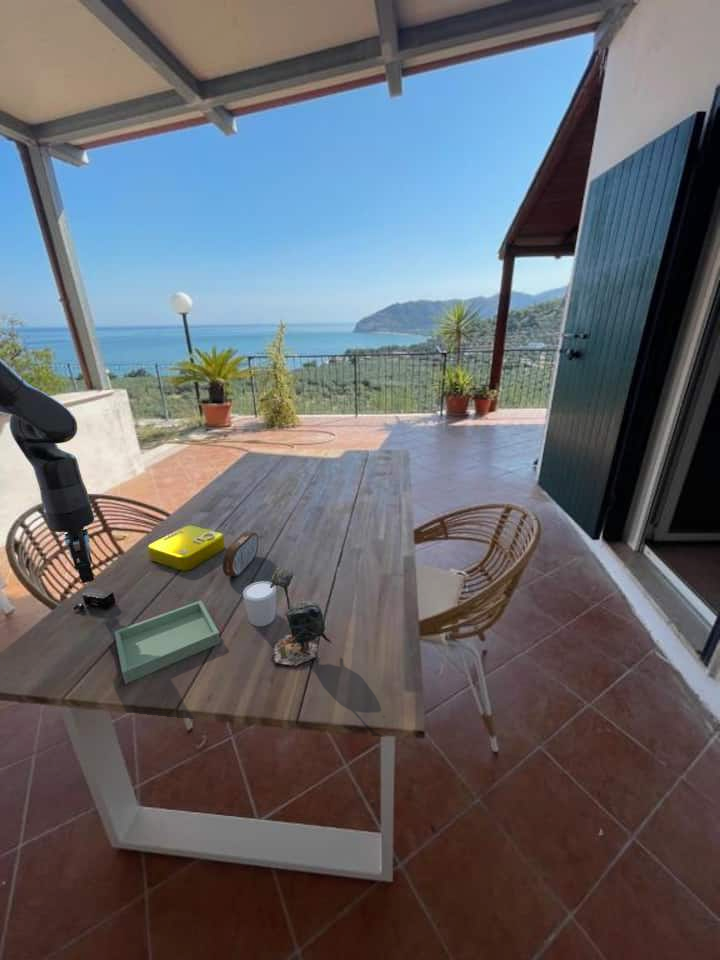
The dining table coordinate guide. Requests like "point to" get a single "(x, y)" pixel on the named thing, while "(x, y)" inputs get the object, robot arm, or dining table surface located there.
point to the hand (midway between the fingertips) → (87, 572)
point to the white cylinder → (260, 603)
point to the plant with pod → (298, 626)
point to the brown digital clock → (240, 554)
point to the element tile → (186, 547)
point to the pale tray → (165, 640)
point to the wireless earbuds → (97, 599)
